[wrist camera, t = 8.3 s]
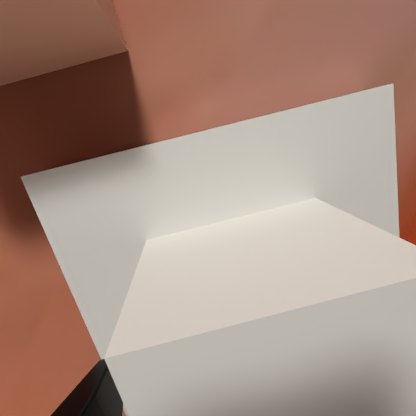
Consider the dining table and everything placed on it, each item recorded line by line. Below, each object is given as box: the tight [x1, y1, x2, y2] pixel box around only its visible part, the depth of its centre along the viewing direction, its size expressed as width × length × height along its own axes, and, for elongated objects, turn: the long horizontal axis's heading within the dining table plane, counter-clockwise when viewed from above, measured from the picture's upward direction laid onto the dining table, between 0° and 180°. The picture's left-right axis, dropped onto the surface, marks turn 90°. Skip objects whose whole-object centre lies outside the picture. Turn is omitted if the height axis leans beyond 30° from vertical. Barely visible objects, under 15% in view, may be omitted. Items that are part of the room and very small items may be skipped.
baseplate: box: [21, 83, 399, 416], centre depth 11 cm, size 12×12×2 cm
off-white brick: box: [104, 198, 416, 416], centre depth 8 cm, size 6×6×5 cm
